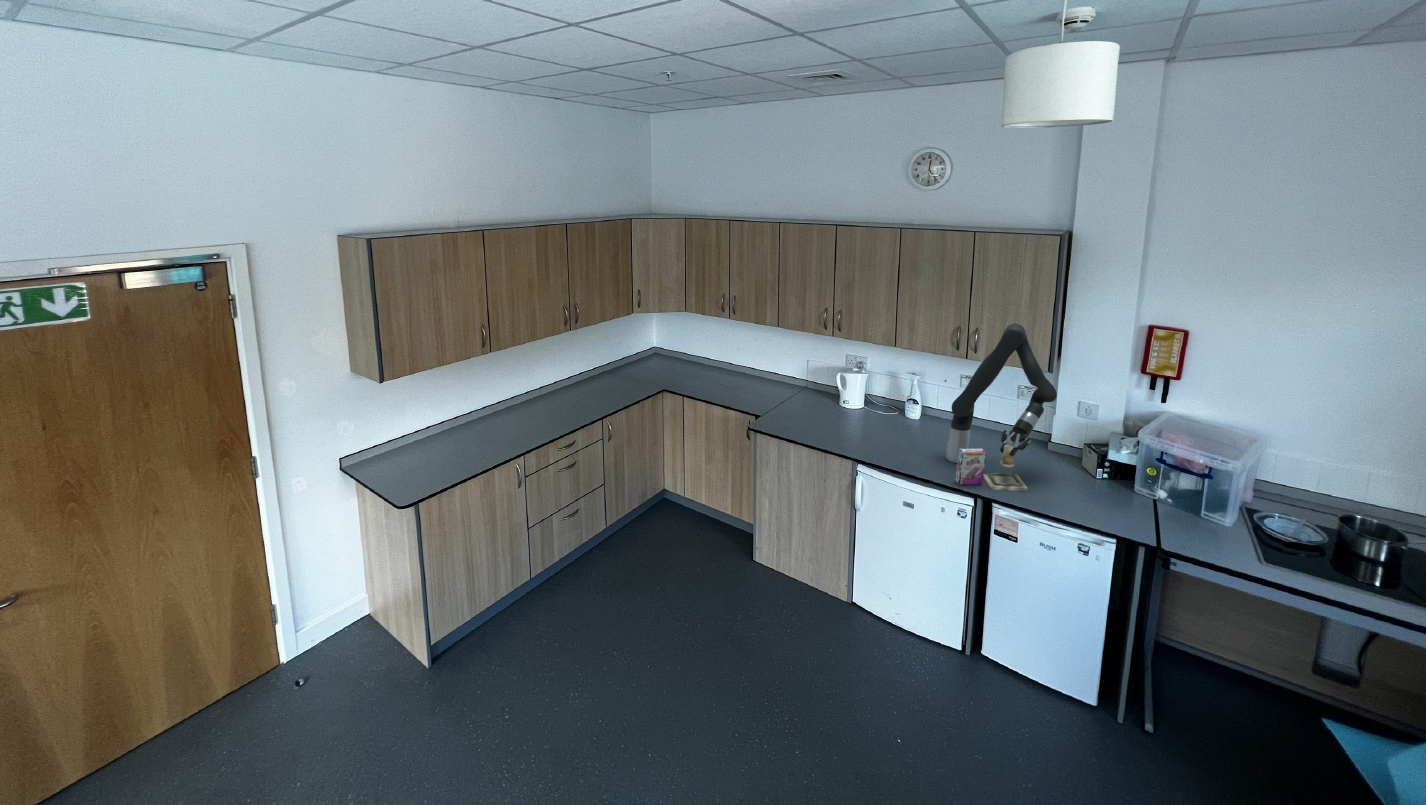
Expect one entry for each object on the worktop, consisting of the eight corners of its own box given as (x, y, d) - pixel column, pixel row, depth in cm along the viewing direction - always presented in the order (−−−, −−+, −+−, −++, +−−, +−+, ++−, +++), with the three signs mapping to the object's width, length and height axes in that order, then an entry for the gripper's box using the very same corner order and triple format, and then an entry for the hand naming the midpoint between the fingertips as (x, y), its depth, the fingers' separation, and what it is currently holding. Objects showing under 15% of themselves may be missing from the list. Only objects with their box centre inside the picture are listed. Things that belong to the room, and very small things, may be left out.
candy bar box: (958, 485, 327) (962, 452, 322) (954, 480, 332) (958, 448, 326) (982, 484, 327) (986, 452, 322) (978, 480, 332) (982, 447, 327)
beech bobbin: (996, 463, 326) (998, 445, 323) (1005, 460, 329) (1008, 442, 326) (1008, 468, 321) (1011, 449, 318) (1017, 465, 324) (1020, 446, 321)
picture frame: (990, 489, 322) (991, 484, 322) (982, 476, 336) (983, 471, 335) (1027, 490, 321) (1027, 485, 320) (1017, 477, 334) (1018, 472, 333)
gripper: (1009, 414, 328) (989, 444, 326) (1037, 423, 317) (1016, 454, 314) (1015, 423, 332) (995, 452, 330) (1042, 432, 321) (1022, 462, 319)
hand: (1006, 453), depth 322 cm, fingers closed on beech bobbin, 4 cm apart
